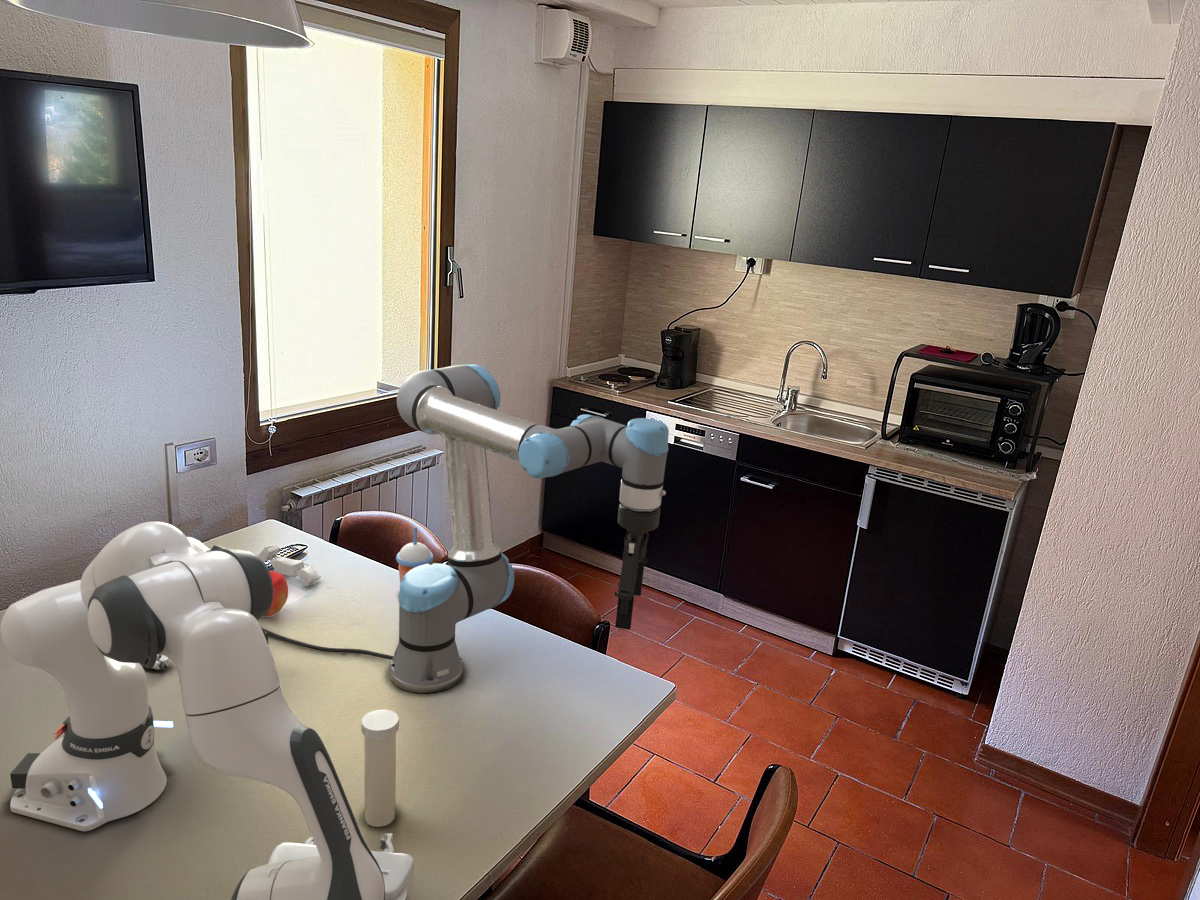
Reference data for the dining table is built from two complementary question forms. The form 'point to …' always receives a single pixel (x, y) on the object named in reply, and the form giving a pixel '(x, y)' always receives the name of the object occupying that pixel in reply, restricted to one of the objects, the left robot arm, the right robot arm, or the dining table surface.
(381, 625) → the dining table surface
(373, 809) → the jar
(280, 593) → the apple
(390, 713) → the lid
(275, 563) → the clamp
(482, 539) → the right robot arm
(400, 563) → the cup with straw
